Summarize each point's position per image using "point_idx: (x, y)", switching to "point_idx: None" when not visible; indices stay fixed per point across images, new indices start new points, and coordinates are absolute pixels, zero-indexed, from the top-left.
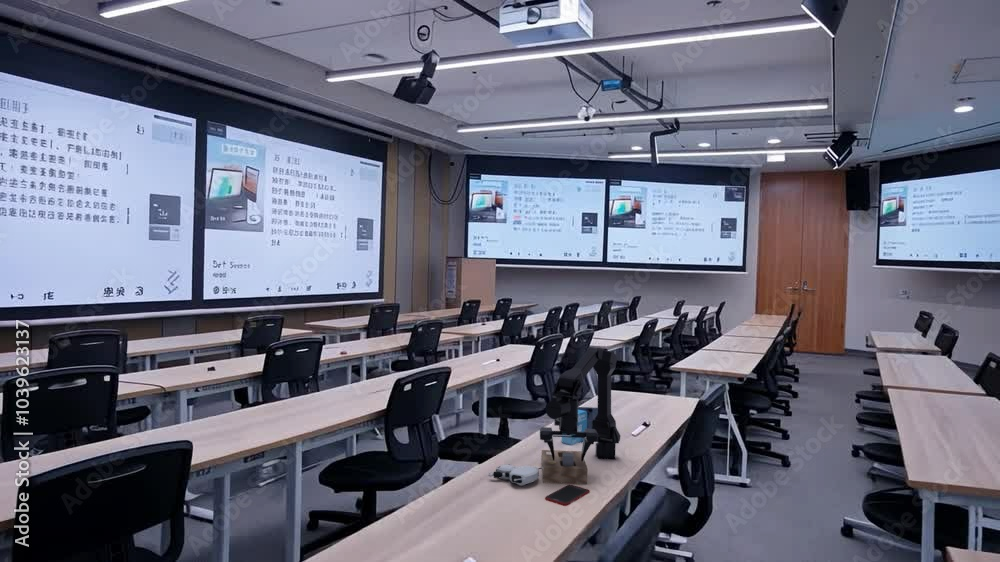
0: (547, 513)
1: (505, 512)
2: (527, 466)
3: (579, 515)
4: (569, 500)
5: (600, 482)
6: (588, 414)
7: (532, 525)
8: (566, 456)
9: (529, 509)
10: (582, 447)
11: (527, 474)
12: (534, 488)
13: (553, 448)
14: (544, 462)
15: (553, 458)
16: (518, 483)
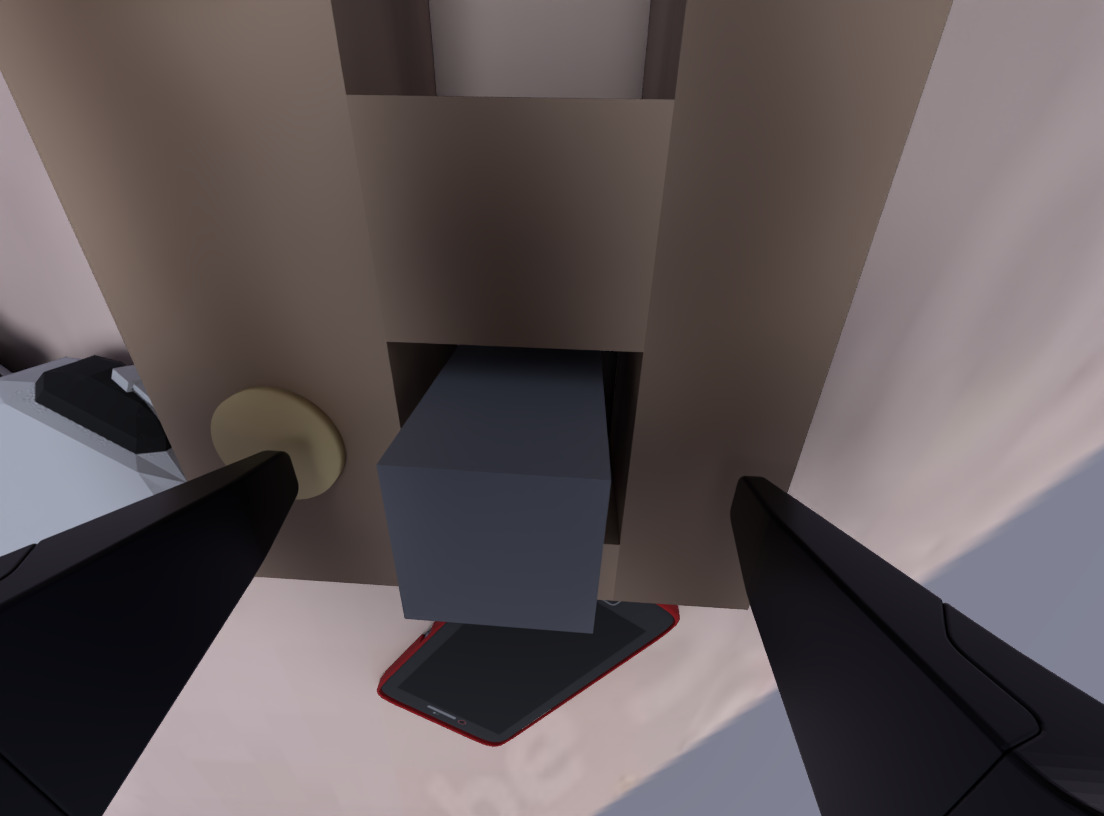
0: (411, 778)
1: (231, 765)
2: (32, 439)
3: (554, 794)
4: (517, 721)
5: (856, 440)
6: None
7: None
8: (464, 617)
9: (325, 752)
10: (901, 691)
11: None
12: None
13: (122, 773)
14: (182, 428)
15: (269, 522)
16: None
